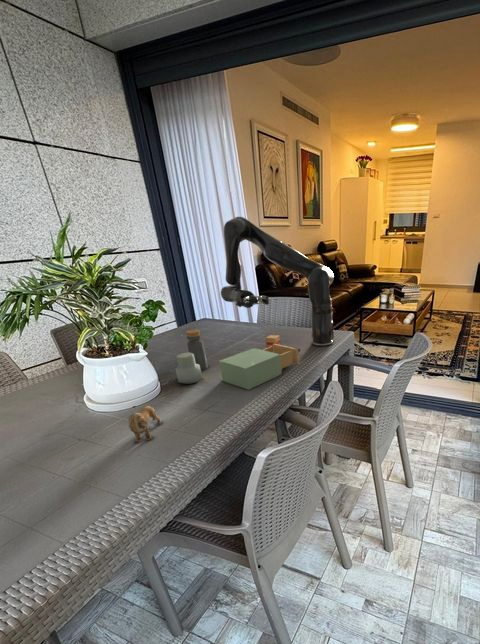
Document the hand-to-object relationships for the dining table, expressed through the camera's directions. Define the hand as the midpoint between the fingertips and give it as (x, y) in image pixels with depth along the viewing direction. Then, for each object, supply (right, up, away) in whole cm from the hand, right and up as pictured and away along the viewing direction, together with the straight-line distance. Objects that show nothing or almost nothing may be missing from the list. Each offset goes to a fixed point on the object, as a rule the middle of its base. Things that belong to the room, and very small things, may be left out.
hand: (258, 303), depth 151 cm
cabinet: (+1, -34, -21) cm, 40 cm away
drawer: (+10, -28, -12) cm, 32 cm away
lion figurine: (-20, -53, -54) cm, 78 cm away
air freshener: (-21, -35, -22) cm, 47 cm away
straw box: (+7, -22, +1) cm, 23 cm away
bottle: (-22, -29, -10) cm, 38 cm away
